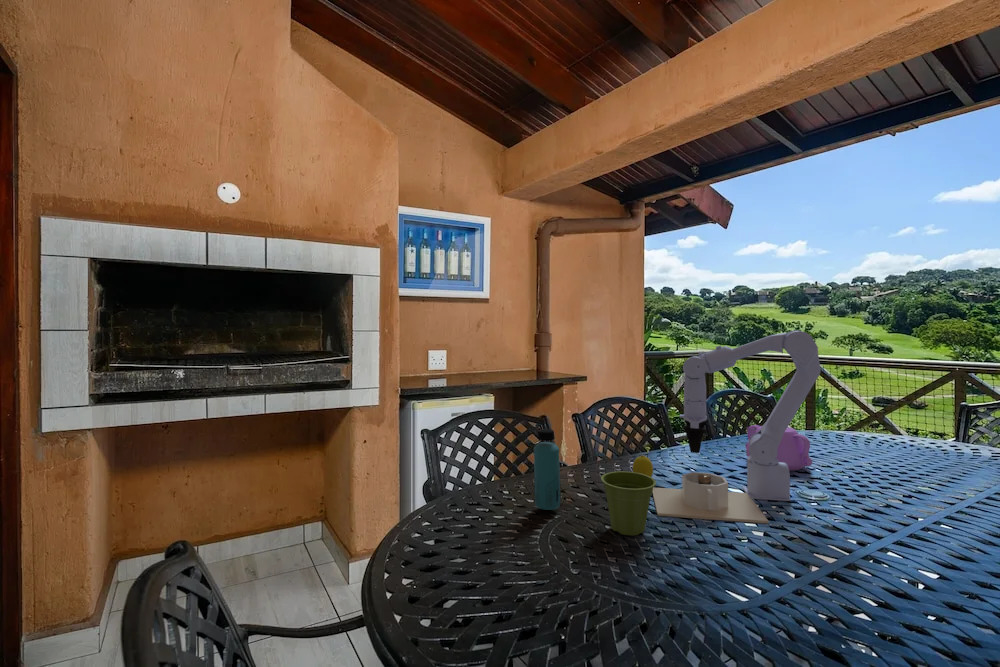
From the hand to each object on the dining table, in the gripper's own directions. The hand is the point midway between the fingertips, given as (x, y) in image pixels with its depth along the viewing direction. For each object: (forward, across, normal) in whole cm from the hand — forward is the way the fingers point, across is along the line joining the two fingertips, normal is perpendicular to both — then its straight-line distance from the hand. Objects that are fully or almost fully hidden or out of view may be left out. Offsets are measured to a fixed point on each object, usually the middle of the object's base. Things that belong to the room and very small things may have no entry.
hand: (695, 448), depth 136 cm
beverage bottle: (+11, +31, -33) cm, 47 cm away
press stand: (+10, +14, +2) cm, 17 cm away
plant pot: (+11, +35, -13) cm, 39 cm away
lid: (+9, +14, +2) cm, 17 cm away
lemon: (+11, +2, -14) cm, 18 cm away
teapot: (+11, -27, +22) cm, 36 cm away
